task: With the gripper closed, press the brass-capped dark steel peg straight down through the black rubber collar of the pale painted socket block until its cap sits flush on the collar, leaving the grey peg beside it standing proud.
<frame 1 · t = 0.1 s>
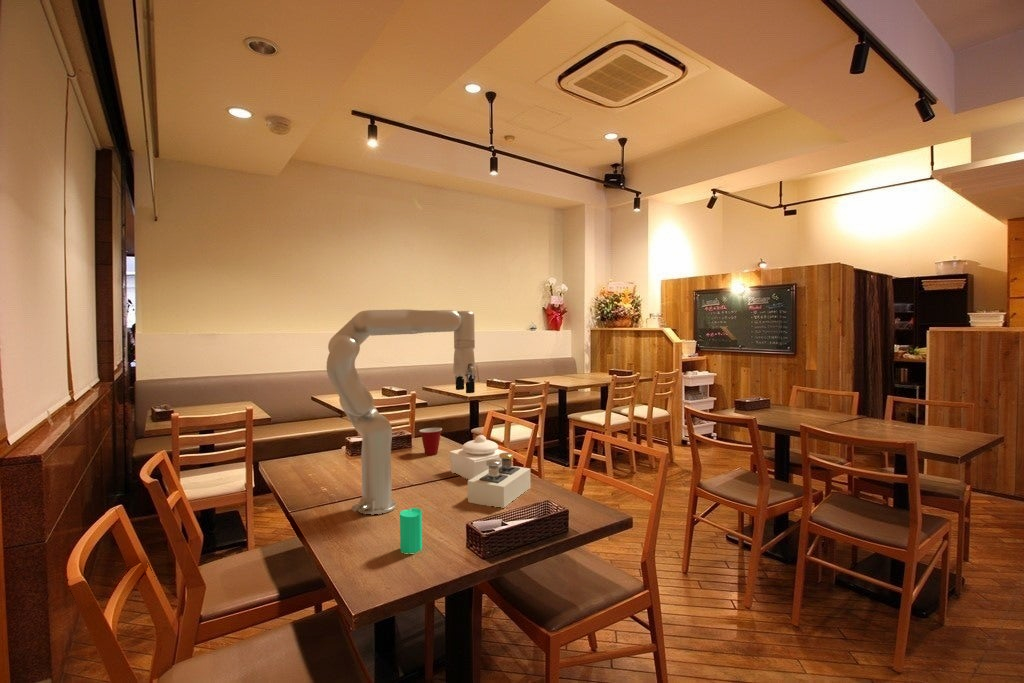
hand: (465, 391, 176), 37 cm above the table, tool pointing down, fingers open, 9 cm apart
butter dish: (479, 473, 199), on the table
grey peg: (493, 472, 168), point 10 cm above the table, slide at 0.0 cm
brass-capped peg: (506, 465, 177), point 10 cm above the table, slide at 0.0 cm
candle: (411, 550, 132), on the table
socket block: (500, 495, 173), on the table
plastic cup: (431, 454, 228), on the table
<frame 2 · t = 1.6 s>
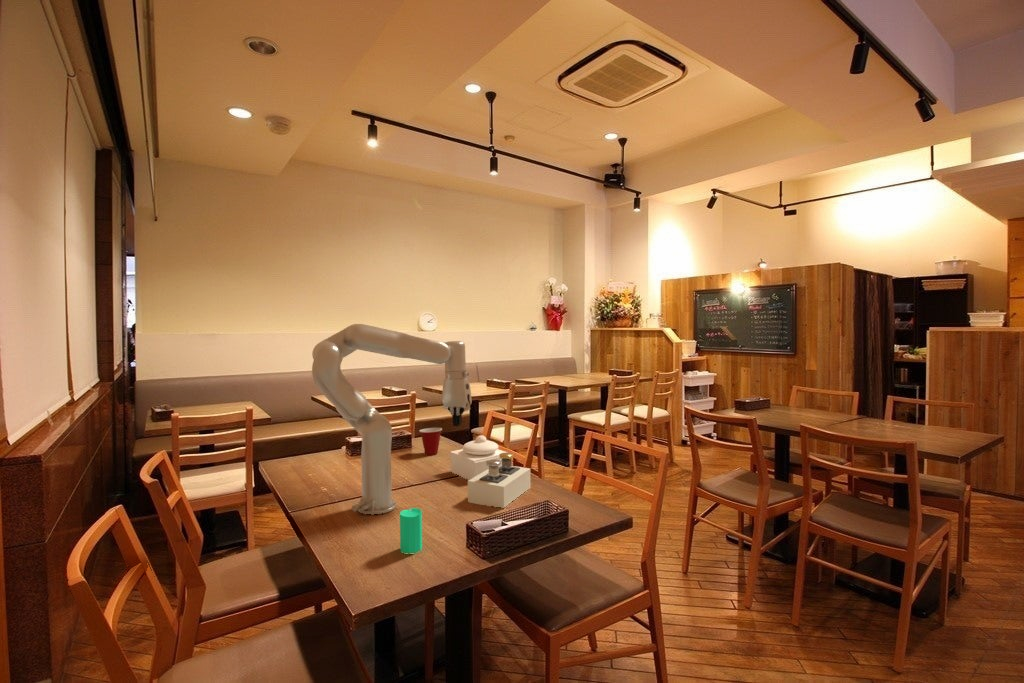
hand: (457, 425, 174), 25 cm above the table, tool pointing down, fingers closed
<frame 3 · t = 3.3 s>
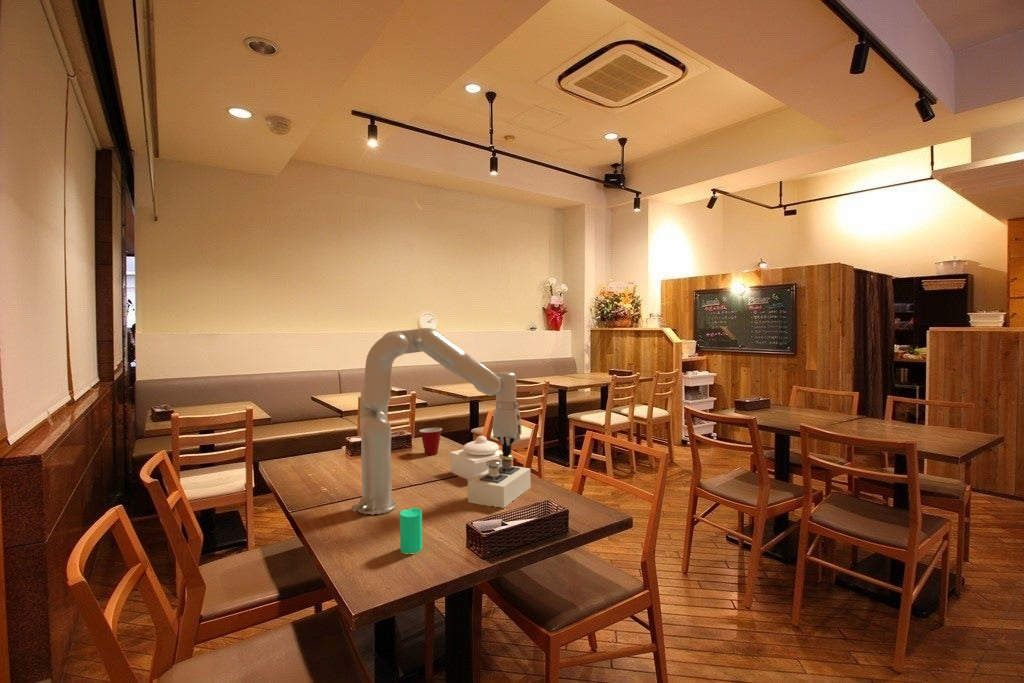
hand: (506, 455, 177), 13 cm above the table, tool pointing down, fingers closed
brass-capped peg: (506, 465, 177), point 9 cm above the table, slide at 0.3 cm, touching gripper
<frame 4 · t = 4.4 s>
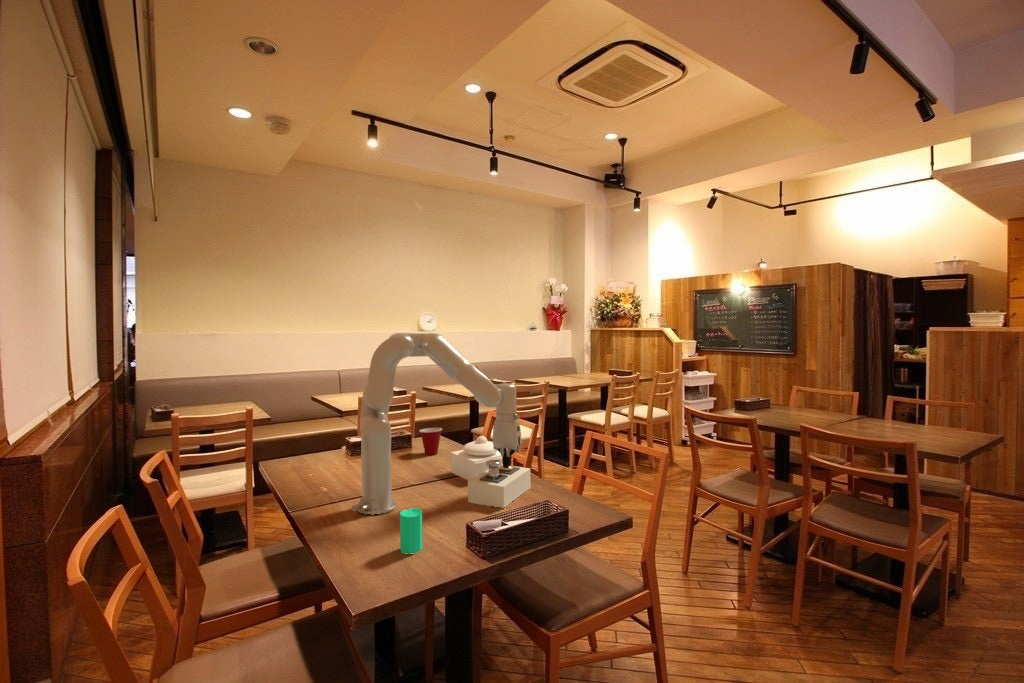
hand: (506, 466, 177), 9 cm above the table, tool pointing down, fingers closed
brass-capped peg: (506, 477, 177), point 5 cm above the table, slide at 4.5 cm, touching gripper
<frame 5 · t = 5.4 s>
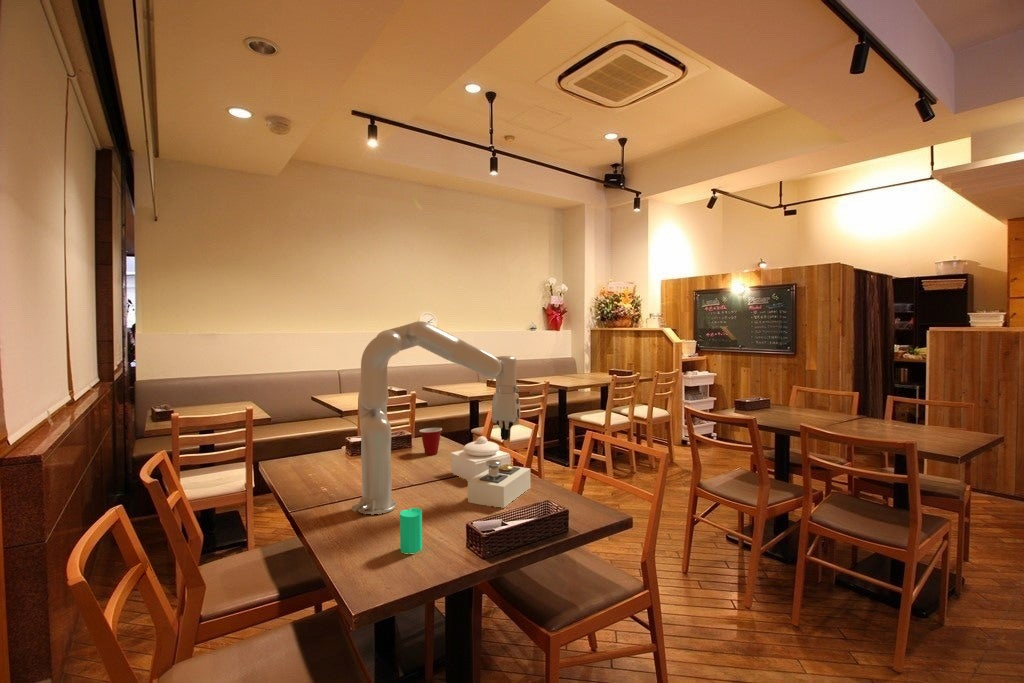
hand: (505, 439, 177), 19 cm above the table, tool pointing down, fingers closed
brass-capped peg: (506, 477, 177), point 5 cm above the table, slide at 4.5 cm
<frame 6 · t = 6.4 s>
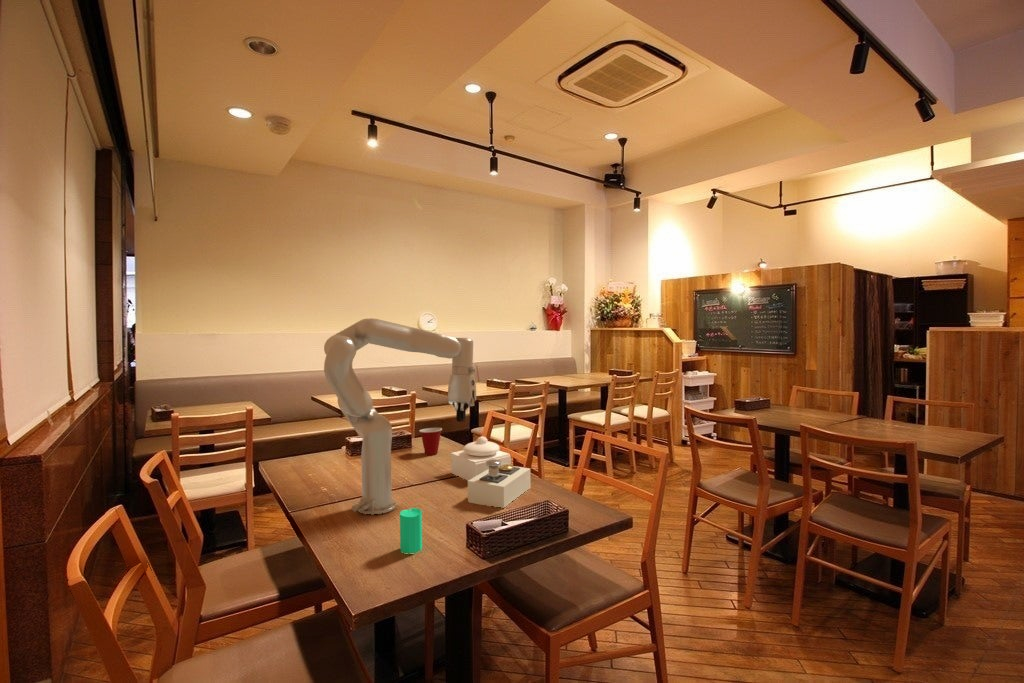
hand: (460, 420, 177), 26 cm above the table, tool pointing down, fingers closed
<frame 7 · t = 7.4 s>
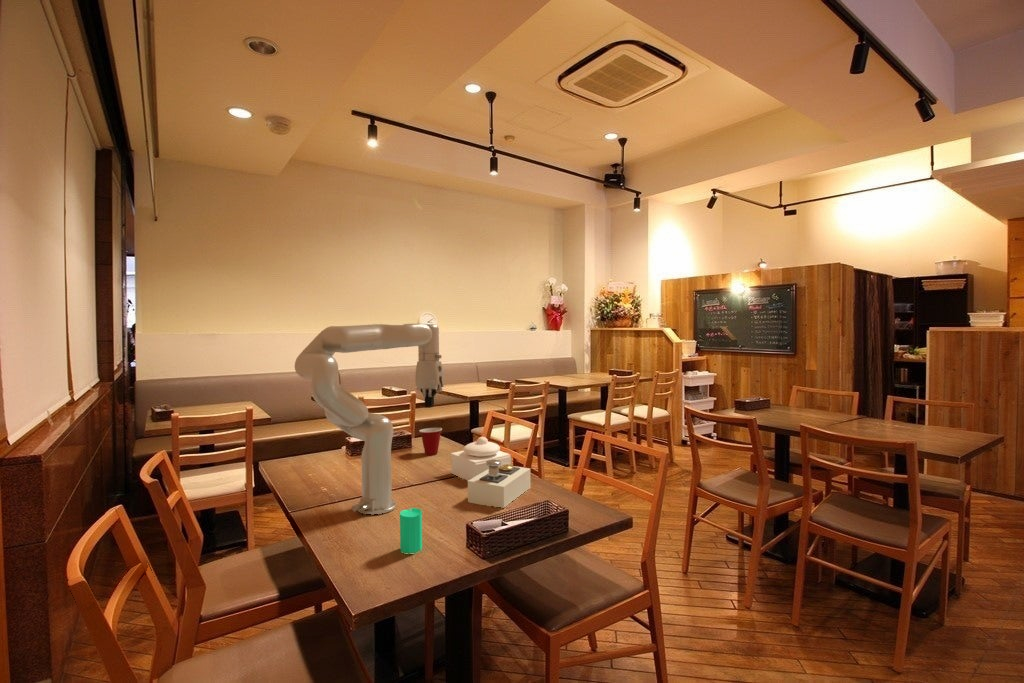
hand: (429, 407, 177), 31 cm above the table, tool pointing down, fingers closed
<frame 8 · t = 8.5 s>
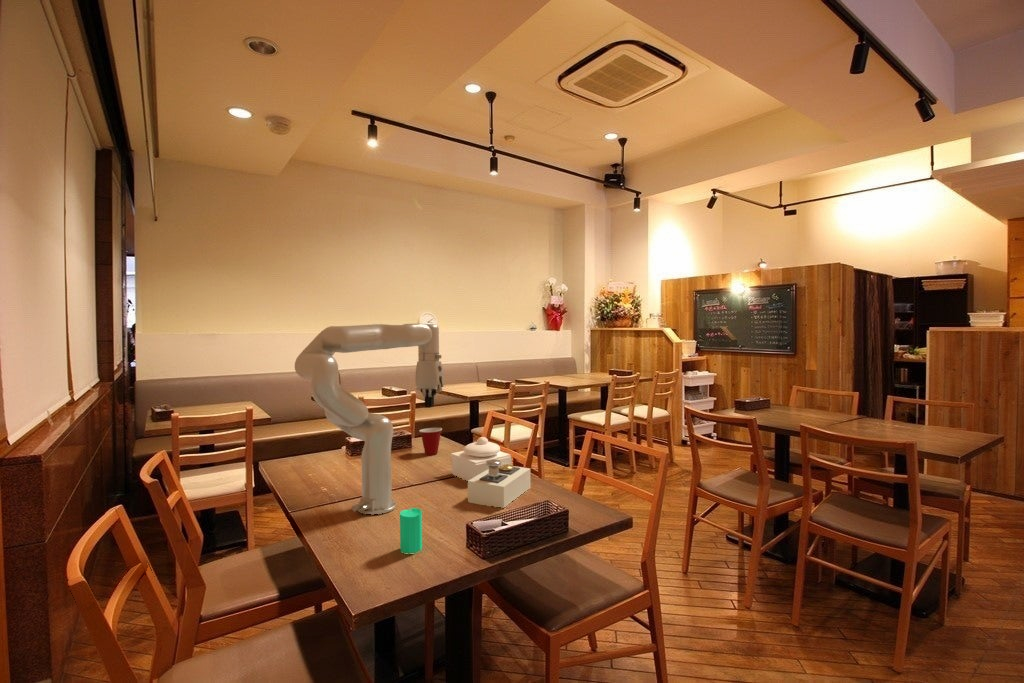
hand: (429, 407, 177), 31 cm above the table, tool pointing down, fingers closed
at the end: brass-capped peg slide at 4.5 cm; grey peg slide at 0.0 cm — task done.
